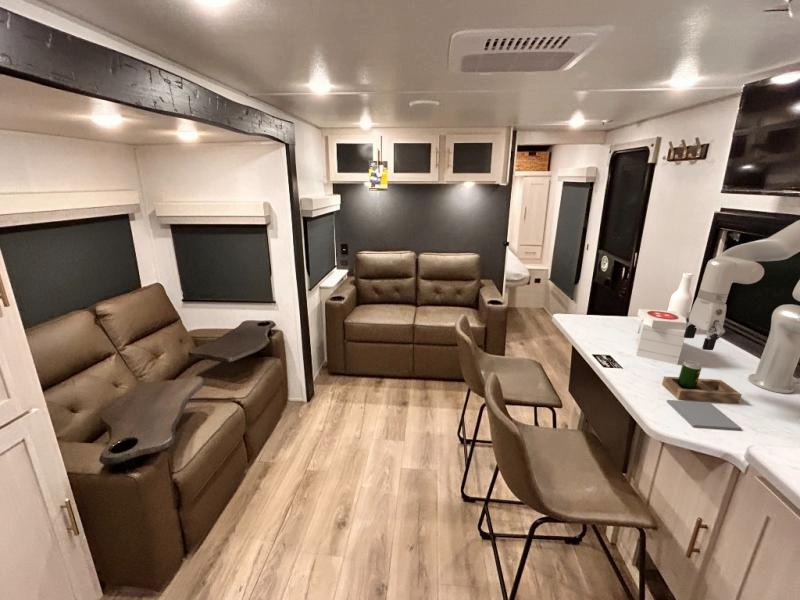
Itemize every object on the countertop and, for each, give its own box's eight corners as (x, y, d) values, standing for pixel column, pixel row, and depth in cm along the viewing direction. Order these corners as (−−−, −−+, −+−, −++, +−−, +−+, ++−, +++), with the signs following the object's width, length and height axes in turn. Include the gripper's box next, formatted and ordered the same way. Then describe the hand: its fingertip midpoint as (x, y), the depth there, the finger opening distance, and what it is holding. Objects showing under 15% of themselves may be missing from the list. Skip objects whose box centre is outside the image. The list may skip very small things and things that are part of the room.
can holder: (718, 388, 140) (720, 379, 139) (738, 403, 130) (741, 394, 129) (661, 384, 141) (664, 376, 140) (678, 399, 132) (680, 390, 131)
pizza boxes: (677, 342, 179) (687, 307, 173) (683, 368, 155) (694, 327, 149) (631, 333, 189) (639, 299, 183) (629, 356, 164) (638, 317, 159)
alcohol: (658, 327, 198) (672, 271, 189) (673, 326, 199) (687, 271, 190) (673, 333, 190) (688, 276, 180) (687, 332, 191) (704, 275, 182)
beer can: (676, 394, 135) (684, 364, 132) (674, 387, 140) (682, 358, 136) (694, 398, 133) (703, 368, 129) (692, 391, 137) (701, 361, 134)
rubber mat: (709, 404, 129) (709, 402, 129) (740, 430, 116) (741, 428, 116) (666, 401, 130) (667, 399, 130) (693, 427, 117) (693, 424, 117)
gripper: (744, 305, 116) (727, 355, 122) (706, 289, 133) (692, 334, 138) (719, 303, 117) (703, 353, 122) (683, 288, 133) (671, 333, 139)
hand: (697, 343), depth 130 cm, fingers open, 9 cm apart
